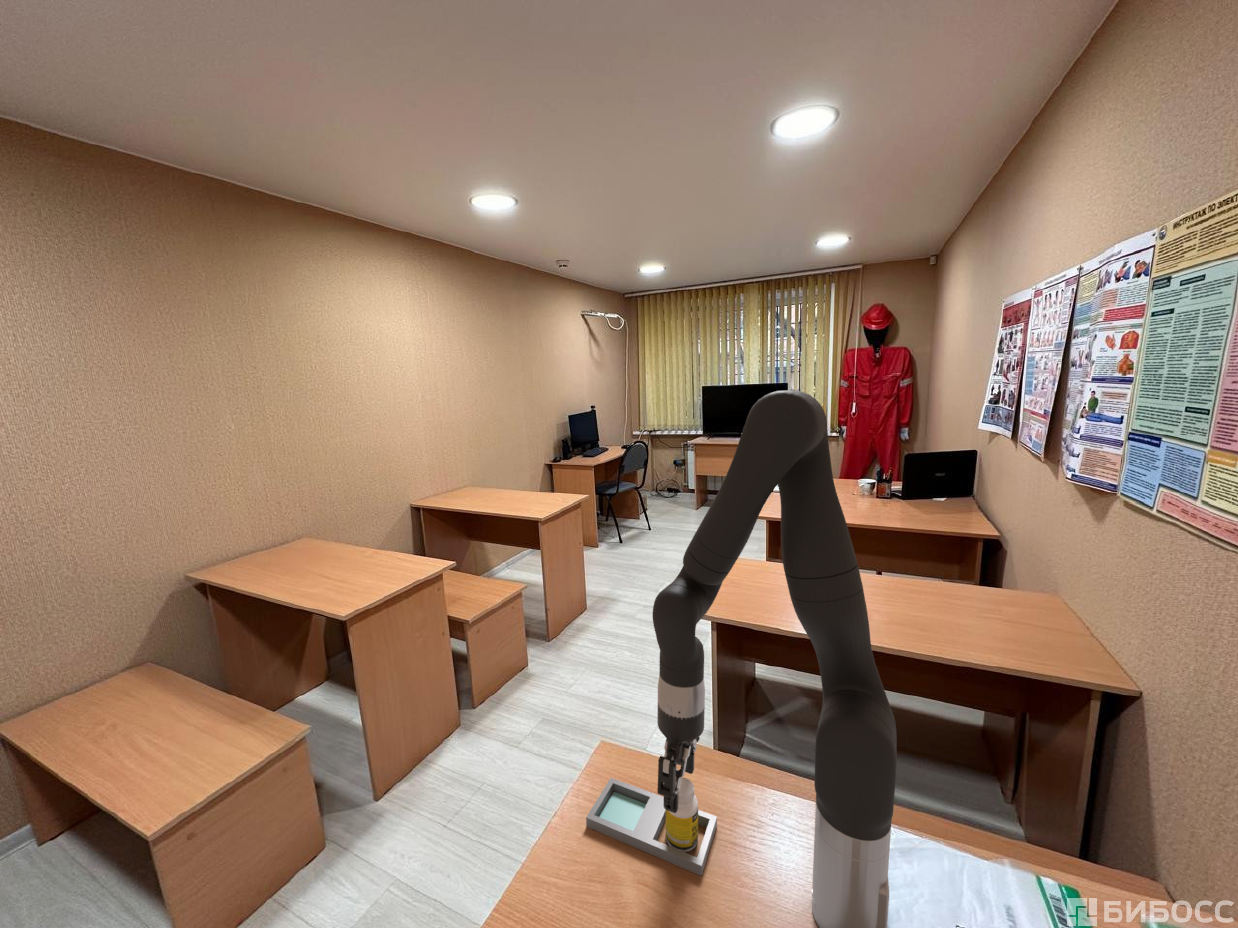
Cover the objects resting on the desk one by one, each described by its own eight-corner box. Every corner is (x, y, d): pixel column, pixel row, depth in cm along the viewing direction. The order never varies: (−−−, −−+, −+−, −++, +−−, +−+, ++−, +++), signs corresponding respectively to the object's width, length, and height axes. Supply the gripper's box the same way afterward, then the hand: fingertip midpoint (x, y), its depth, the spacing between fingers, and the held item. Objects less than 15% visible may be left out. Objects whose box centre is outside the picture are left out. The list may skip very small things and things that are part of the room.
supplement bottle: (697, 856, 76) (697, 802, 75) (664, 850, 77) (663, 797, 76) (698, 826, 82) (698, 775, 80) (667, 821, 83) (667, 771, 81)
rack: (716, 825, 82) (717, 816, 81) (701, 875, 73) (701, 865, 73) (611, 785, 90) (610, 777, 90) (586, 826, 82) (586, 817, 82)
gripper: (690, 736, 68) (688, 834, 70) (715, 681, 81) (712, 766, 83) (642, 720, 71) (641, 814, 74) (673, 670, 84) (672, 752, 86)
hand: (679, 789), depth 78 cm, fingers open, 8 cm apart
